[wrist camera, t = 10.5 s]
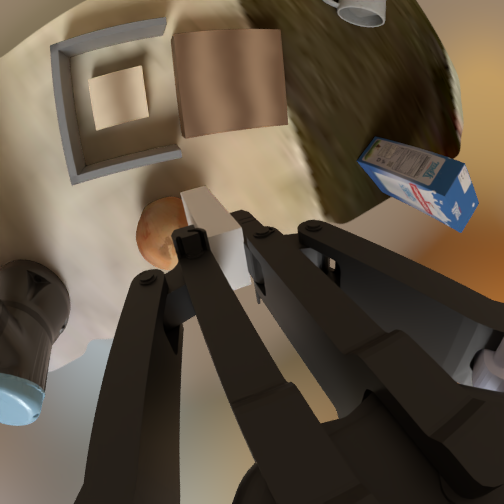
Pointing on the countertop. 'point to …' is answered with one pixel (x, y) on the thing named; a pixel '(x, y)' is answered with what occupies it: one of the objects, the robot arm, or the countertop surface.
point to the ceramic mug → (361, 11)
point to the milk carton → (422, 180)
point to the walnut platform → (229, 80)
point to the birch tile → (118, 97)
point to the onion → (160, 231)
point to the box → (67, 107)
